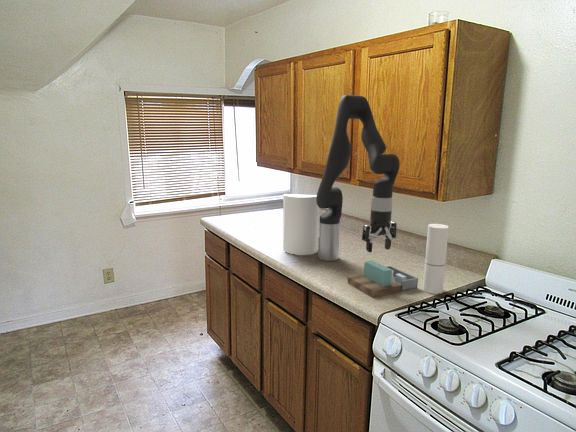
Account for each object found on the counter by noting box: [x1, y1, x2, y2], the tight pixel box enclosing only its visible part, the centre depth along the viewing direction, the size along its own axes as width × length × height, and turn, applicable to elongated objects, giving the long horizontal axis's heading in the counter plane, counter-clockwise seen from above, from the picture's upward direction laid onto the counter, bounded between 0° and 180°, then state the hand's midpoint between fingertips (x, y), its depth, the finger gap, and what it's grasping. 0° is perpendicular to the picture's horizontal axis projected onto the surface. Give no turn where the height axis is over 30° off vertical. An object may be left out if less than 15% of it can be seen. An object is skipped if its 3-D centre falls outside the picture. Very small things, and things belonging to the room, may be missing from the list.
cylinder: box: [282, 193, 320, 256], centre depth 204 cm, size 17×17×28 cm
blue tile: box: [395, 274, 406, 284], centre depth 160 cm, size 4×4×2 cm
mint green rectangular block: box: [363, 260, 392, 286], centre depth 159 cm, size 12×4×6 cm, turn 27°
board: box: [347, 273, 402, 299], centre depth 159 cm, size 16×13×2 cm
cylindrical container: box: [422, 223, 450, 295], centre depth 154 cm, size 7×7×25 cm
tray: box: [385, 265, 419, 292], centre depth 163 cm, size 16×8×4 cm, turn 27°
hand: (378, 250), depth 157 cm, fingers open, 8 cm apart
